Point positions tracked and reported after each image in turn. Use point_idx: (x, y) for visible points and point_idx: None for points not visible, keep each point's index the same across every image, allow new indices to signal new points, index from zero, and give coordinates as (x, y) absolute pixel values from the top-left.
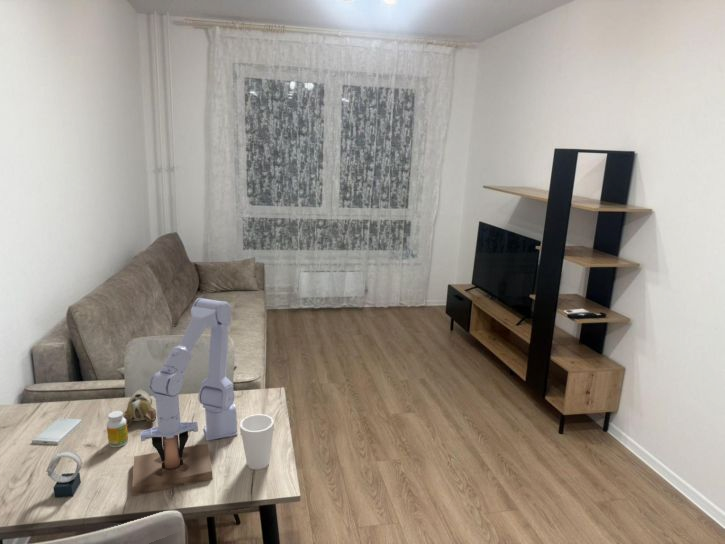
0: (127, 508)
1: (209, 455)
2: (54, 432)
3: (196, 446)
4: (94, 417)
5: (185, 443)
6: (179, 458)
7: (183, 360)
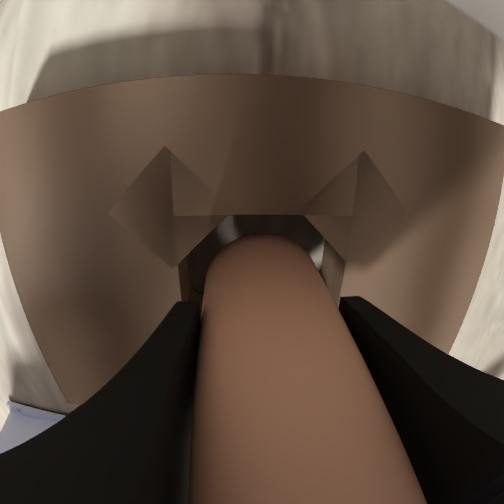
0: (484, 43)
1: (21, 300)
2: None
3: None
4: None
5: (57, 423)
6: (202, 308)
7: None
